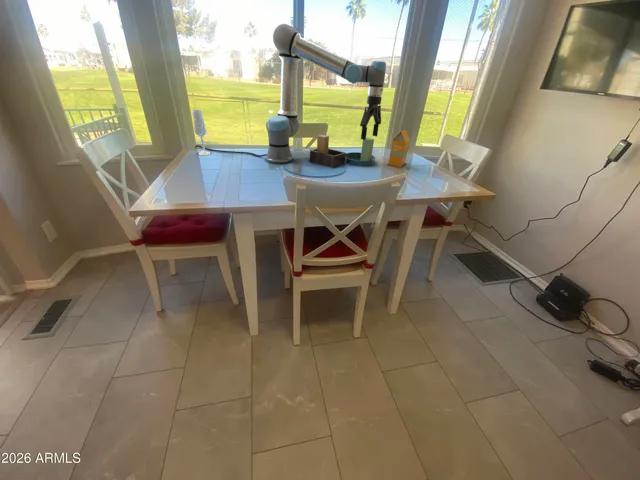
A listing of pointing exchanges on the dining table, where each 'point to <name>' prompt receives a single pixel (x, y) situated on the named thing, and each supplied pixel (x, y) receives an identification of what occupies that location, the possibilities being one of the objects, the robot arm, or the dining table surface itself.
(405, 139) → the orange juice
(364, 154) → the packet sage
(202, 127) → the champagne flute
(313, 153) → the box
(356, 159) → the bowl
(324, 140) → the packet kraft
